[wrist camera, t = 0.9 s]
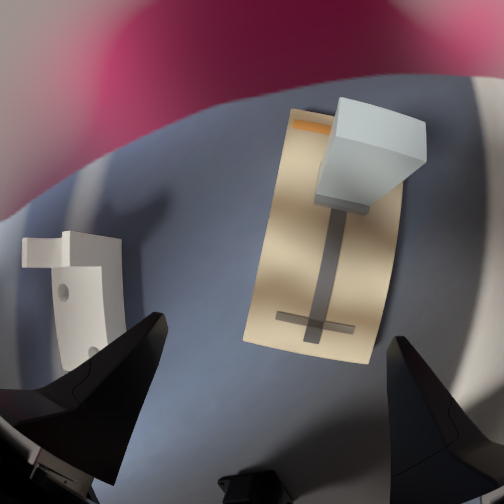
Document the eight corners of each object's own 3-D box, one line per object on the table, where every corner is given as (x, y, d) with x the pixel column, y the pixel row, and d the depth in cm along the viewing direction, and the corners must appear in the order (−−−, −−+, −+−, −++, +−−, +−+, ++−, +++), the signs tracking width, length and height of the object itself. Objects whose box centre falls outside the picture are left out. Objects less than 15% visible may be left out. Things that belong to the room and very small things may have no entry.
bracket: (73, 244, 25) (22, 238, 18) (123, 239, 24) (70, 230, 17) (83, 360, 25) (36, 379, 17) (133, 370, 24) (87, 398, 16)
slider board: (361, 356, 21) (368, 364, 19) (246, 334, 22) (242, 341, 20) (397, 144, 21) (405, 135, 19) (291, 119, 23) (291, 107, 21)
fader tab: (364, 215, 19) (426, 172, 9) (313, 204, 20) (334, 147, 10) (369, 178, 19) (425, 113, 9) (319, 167, 20) (340, 88, 10)
